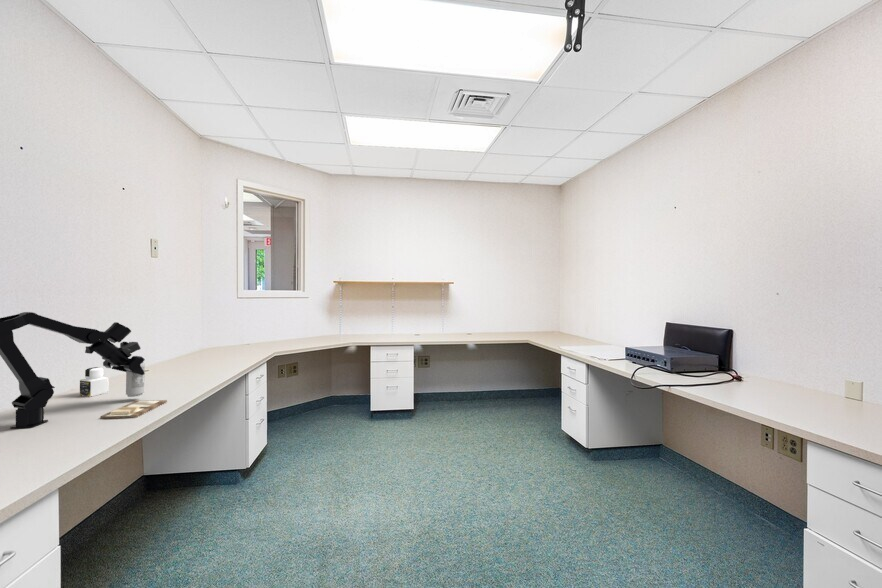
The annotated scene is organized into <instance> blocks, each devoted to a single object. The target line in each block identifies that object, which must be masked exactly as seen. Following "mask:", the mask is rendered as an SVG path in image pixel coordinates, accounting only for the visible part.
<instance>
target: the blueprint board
mask: <svg viewBox="0 0 882 588" xmlns="http://www.w3.org/2000/svg"><path fill="white" fill-rule="evenodd" d="M166 402H167V403H168V400H167V399H160V400H159V399H156V400H155V399H153V400H151V399H150V400H135V401H132V402H129V403H127V404H125V405H123V406H121V407H117V408H116V409H113V410H112V411H109V412H107V413H105V414H102V415H100V417H99V418H100V420H104V419H103V418H112V419H121V418H120V417H137V418H139V417H141V416H142V414H143V415H145V414H146V412H147V413H149V412H151V411H153V410H155V409H157V408H158V406H159V407H160V405H161V406H162V404H163V405H165V404H166ZM164 403H165V404H164ZM156 407H157V408H156ZM154 408H155V409H154ZM152 409H153V410H152ZM150 410H151V411H150ZM148 411H149V412H148ZM144 413H145V414H144ZM140 415H141V416H140ZM138 416H139V417H138Z"/></svg>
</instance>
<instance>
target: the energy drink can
mask: <svg viewBox="0 0 882 588" xmlns="http://www.w3.org/2000/svg"><path fill="white" fill-rule="evenodd" d="M145 365H146V364H145V361H143V362H142V363H141V364H140V366H141V368H142V369H143V371H144V372H145V373H146V371H145V368H146V366H145ZM125 374H126V375H125V378H126V379H125V396H127V397H128V398H132V397H133V398H134V397H135V398H136V397H140V396H143V394H144V393H145V374H144V375H140V374H136V373H132V372H128V371H126V372H125Z"/></svg>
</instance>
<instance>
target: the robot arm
mask: <svg viewBox="0 0 882 588" xmlns="http://www.w3.org/2000/svg"><path fill="white" fill-rule="evenodd" d="M26 326H33V327H36V328H41V329H44V330H46V331H50V332H54V333H57V334H60V335H64V336H65V337H67V338H69V339H70V340H72V341H75V342H77V343H79V344H86V345H89V346H85V350H84V353H85V354H91V355H92V354H93V353H96V354H97V355H98V356H100V357H101V359H102V360H104V361H103V362H102V366H103V367H105V368H106V369H112V370H115V371H120V372H125V373H126V371H128V372H132V373H136V374H140V375H144V376H145V374H146V371H145V372H144V371H143V369H142V368H141V366H140V364H141V363H142V362H145V358H144V357H143V356H140V355H132V354H133V353H134V352H136V351H140V350H141V346H140V344H139V342H138V341H129V342H128V341H123V340H124V339H125V338H126V337H127V336H129V335H130V334H131V333H132V329H130V328H129V327H128V326H126V325H123V324H122V323H119V322H113V323H112V324H111V325H110V326H109V327H108V328H107V329H106V330H104V331H101V330H100V331H99V330H97V329H96V328H89V327H84V326H83V327H82V326H75V325H71V324H69V323H65V322H62V321H58V320H56V319H52V318H50V317H46V316H43V315H41V314H37V313H36V312H33V311H22V312H20V313H17V314H13V315H9V316H3V317H0V357H1V359H2V360H3V361H4V362H5V365H7V367H8V369H10V371H11V373H12V374H13V375H14V377H15V378H16V380H17V381H18V390H19V393H20V395H19V396H18V397H16V398H15V399H14V400H12V401H11V404H12V405H11V406H13V408H15V425H12V426H10V429H30V428H34V427H36V426H39V425H42V424H45V423H47V422H49V420H48V419H45V417H44V416H45V412H44V411H45V409H44V408H45V407H47V404H48V402H49V400H50V399H52V397H53V395H54V393H55V391H54V389H55V387H56V386H53V385H52V384H51V381H50V379H49V378H47V377H42V376H38V375H37V374H36V372H35V371H34V370H33V368H32V366H31V365H30V364H29V362H28V361H27V359H26V357H25V356H24V355H23V353H22V352H21V350H20V349H19V347H18V346H17V345H16V343H15V341H14V332H13V331H15V330H18V329H20V328H22V327H26ZM116 343H120V346H119V347H118V346H116V345H115V344H116ZM16 408H17V409H16Z"/></svg>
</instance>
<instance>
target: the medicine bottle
mask: <svg viewBox="0 0 882 588" xmlns="http://www.w3.org/2000/svg"><path fill="white" fill-rule="evenodd" d="M84 373H85V375H84V376H85V377H84V378H83V379H80V380H79V396H80V395H82V396H83V397H88V396H89V397H88V398H91V396H92V397H96V395H97V396H101V395H104V394H105V393H106V394H108V393H109V392H110V391H109V389H110V387H109V386H110V385H109V384H110V383H109V381H110V379H109V377H108V376H107V377H106V376H104V375H105V374H104V368H103V367H101V366H96V367H88V368H87V369H85V370H84ZM100 394H101V395H100ZM82 396H81V397H82Z"/></svg>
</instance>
